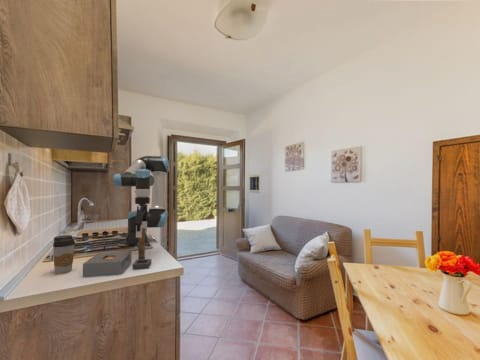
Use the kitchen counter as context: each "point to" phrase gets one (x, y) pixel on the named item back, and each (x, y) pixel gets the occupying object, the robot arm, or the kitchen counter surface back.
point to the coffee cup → (63, 255)
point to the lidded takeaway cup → (61, 238)
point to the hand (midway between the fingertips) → (141, 234)
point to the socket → (141, 264)
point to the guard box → (107, 264)
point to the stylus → (142, 246)
